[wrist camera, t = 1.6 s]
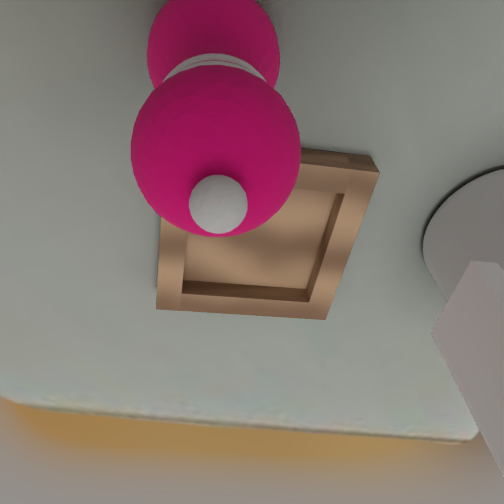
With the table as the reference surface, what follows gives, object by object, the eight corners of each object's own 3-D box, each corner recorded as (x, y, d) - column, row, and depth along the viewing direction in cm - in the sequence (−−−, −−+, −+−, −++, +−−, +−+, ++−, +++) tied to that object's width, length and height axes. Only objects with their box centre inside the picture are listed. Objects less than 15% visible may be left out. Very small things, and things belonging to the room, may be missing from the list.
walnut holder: (167, 131, 33) (164, 147, 31) (370, 156, 35) (379, 172, 33) (158, 289, 42) (155, 309, 40) (320, 300, 44) (325, 319, 42)
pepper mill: (185, -56, 26) (149, 38, 10) (293, 14, 29) (395, 174, 13) (136, 62, 30) (55, 263, 14) (236, 114, 32) (262, 333, 17)
